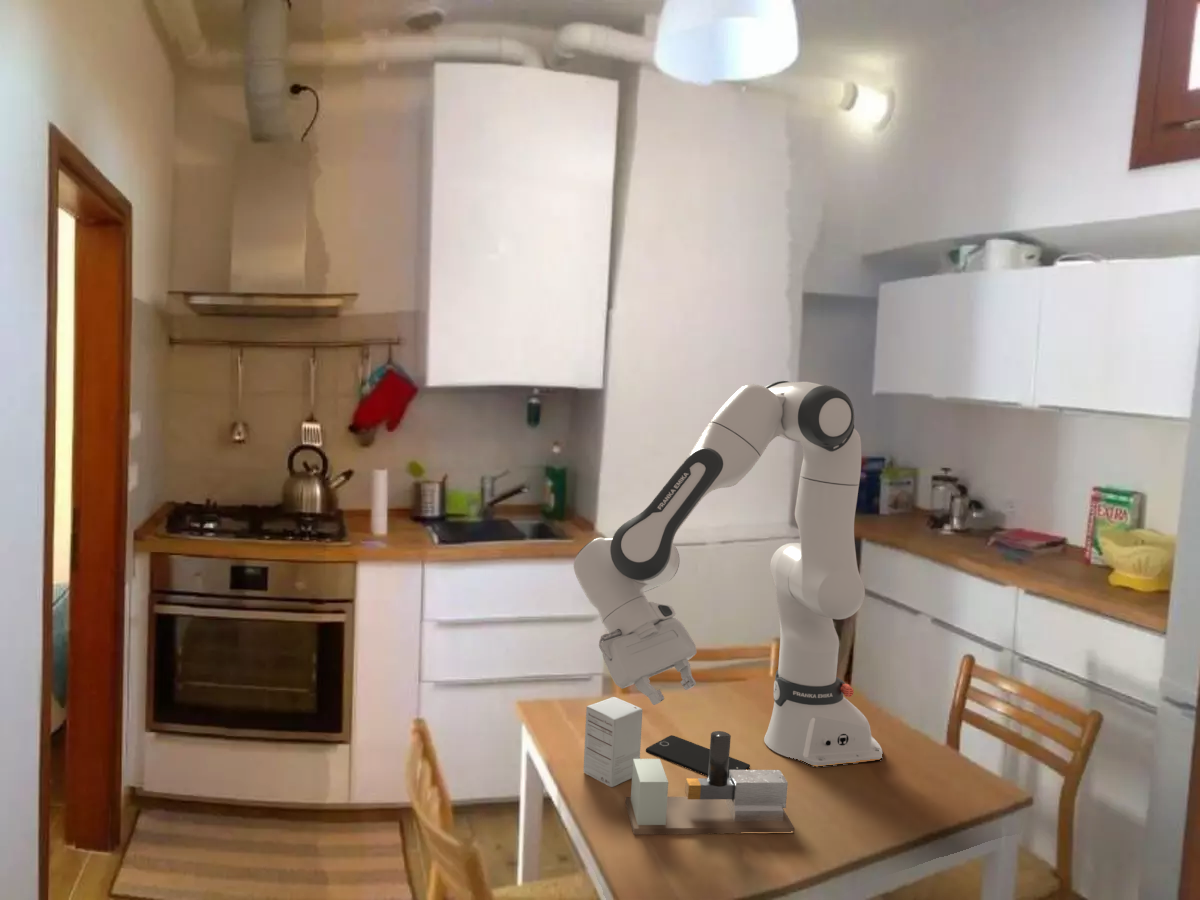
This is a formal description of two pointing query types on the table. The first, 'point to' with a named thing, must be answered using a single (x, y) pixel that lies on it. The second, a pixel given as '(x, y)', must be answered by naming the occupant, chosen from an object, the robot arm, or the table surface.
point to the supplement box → (612, 740)
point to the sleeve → (758, 795)
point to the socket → (649, 792)
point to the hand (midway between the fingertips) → (675, 694)
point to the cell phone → (689, 755)
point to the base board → (704, 819)
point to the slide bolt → (714, 772)
